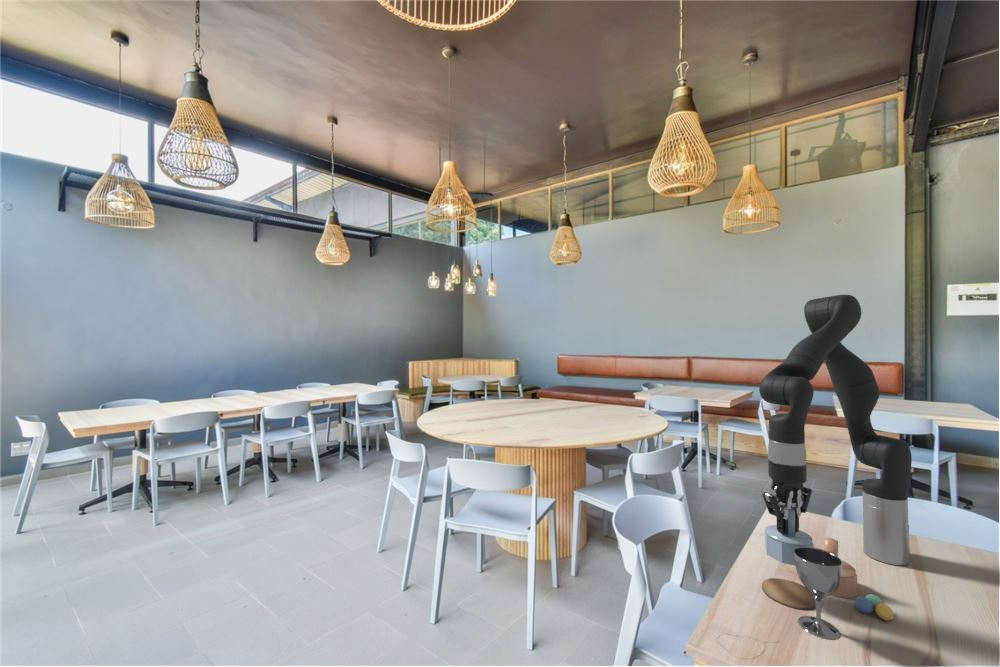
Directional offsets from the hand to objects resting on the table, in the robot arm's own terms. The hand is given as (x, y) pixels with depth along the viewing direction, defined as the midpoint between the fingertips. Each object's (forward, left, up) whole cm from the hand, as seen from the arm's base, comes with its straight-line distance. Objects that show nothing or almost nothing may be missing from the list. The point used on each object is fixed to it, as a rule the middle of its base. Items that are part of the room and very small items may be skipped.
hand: (787, 531), depth 98 cm
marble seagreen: (-13, +10, -15) cm, 22 cm away
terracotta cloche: (-13, +1, -15) cm, 20 cm away
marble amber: (-11, +13, -15) cm, 23 cm away
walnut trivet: (0, 0, -15) cm, 15 cm away
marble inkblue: (-9, +10, -15) cm, 20 cm away
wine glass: (+5, +10, -15) cm, 19 cm away
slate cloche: (0, 0, -6) cm, 6 cm away
